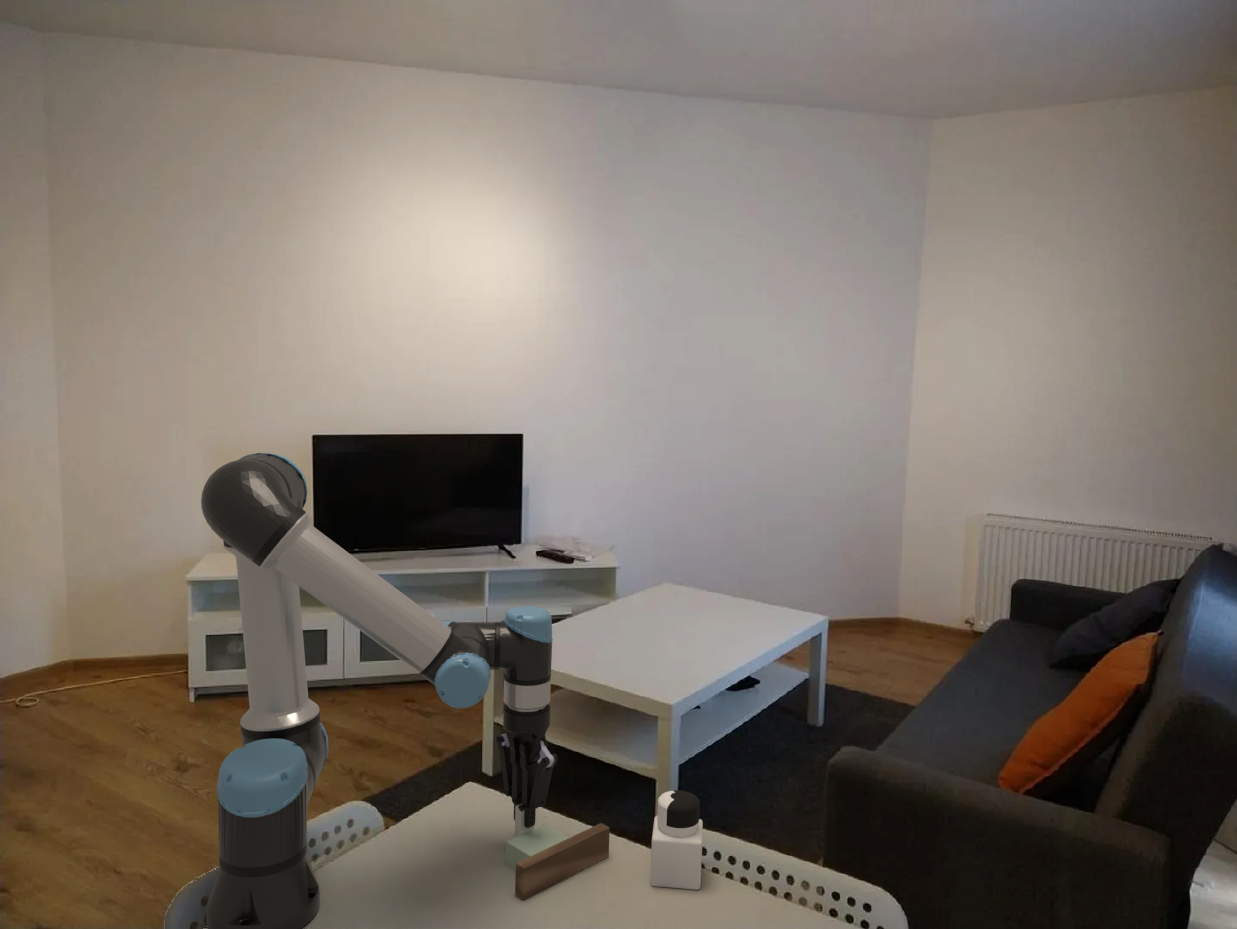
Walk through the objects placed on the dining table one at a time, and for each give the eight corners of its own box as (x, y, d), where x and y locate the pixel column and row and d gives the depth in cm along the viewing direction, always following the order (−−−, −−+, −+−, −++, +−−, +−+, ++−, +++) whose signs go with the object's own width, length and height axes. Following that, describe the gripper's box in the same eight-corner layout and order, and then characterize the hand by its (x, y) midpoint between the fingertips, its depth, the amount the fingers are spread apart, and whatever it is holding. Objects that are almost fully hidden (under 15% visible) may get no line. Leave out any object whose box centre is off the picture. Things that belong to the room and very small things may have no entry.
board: (515, 895, 136) (515, 863, 135) (600, 852, 148) (601, 823, 148) (523, 900, 134) (524, 868, 134) (608, 856, 147) (609, 827, 147)
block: (505, 865, 144) (505, 841, 144) (543, 847, 150) (543, 824, 150) (538, 886, 139) (538, 861, 138) (576, 866, 145) (576, 843, 144)
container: (700, 864, 146) (704, 787, 144) (700, 891, 138) (703, 810, 137) (652, 860, 147) (655, 783, 145) (649, 886, 139) (652, 806, 138)
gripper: (571, 709, 144) (567, 850, 146) (519, 687, 153) (516, 820, 155) (535, 721, 138) (532, 867, 141) (483, 698, 147) (481, 835, 150)
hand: (523, 842), depth 148 cm, fingers closed
